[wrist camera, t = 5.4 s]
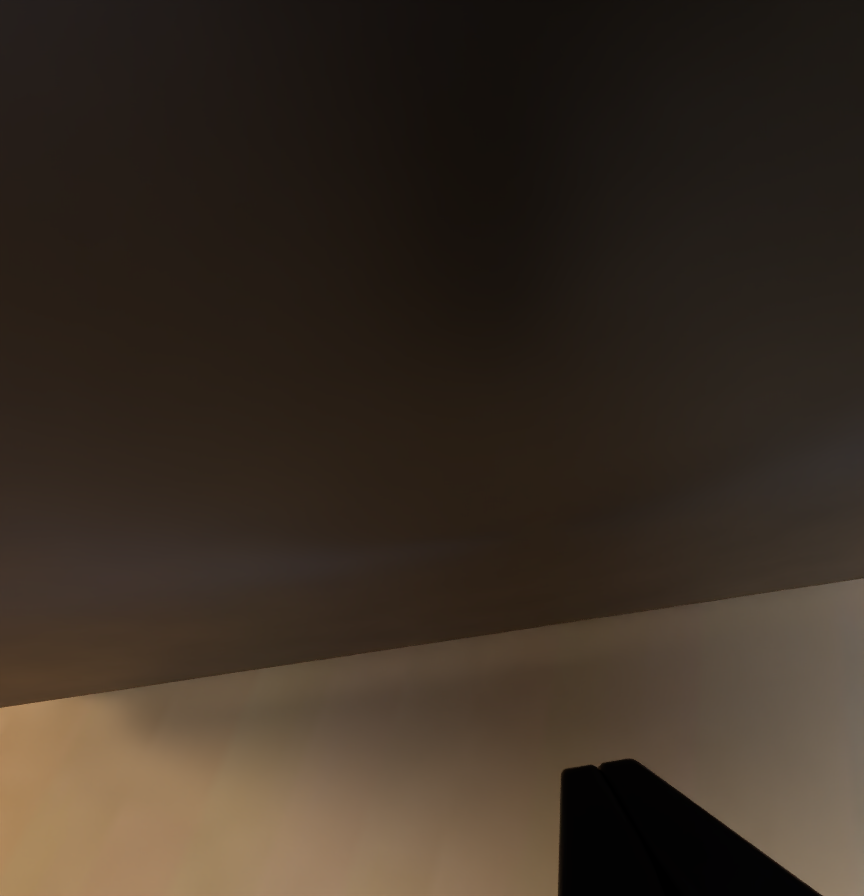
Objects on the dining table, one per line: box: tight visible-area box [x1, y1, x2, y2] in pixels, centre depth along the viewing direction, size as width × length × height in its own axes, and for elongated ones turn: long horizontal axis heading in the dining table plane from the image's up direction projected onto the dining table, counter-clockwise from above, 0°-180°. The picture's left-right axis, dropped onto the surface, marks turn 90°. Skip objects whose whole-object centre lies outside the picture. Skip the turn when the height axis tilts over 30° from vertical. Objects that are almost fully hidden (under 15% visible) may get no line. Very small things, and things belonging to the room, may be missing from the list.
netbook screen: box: [0, 0, 864, 708], centre depth 9 cm, size 15×22×1 cm
